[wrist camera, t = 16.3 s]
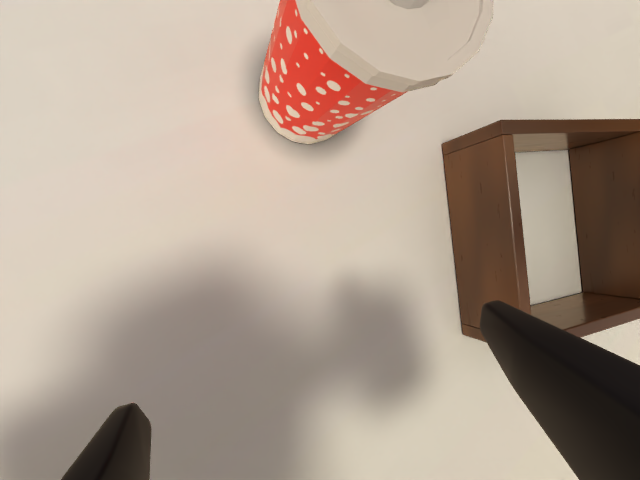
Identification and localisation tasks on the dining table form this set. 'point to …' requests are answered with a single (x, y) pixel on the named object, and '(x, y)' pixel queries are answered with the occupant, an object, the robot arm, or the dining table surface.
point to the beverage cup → (360, 58)
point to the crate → (506, 224)
